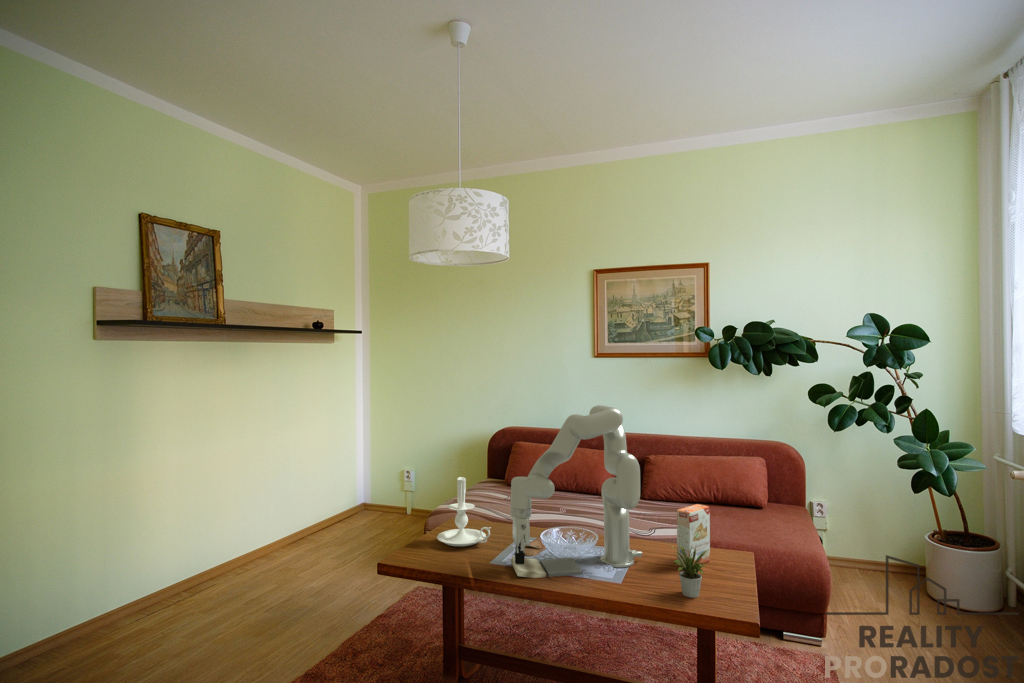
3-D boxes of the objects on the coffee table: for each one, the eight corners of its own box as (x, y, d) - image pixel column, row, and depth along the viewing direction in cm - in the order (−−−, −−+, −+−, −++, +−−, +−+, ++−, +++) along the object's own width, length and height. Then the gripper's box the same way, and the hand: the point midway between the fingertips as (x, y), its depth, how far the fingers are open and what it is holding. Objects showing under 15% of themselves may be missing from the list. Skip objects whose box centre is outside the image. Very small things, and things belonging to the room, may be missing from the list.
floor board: (571, 563, 211) (571, 557, 212) (582, 577, 198) (582, 571, 198) (540, 565, 209) (540, 559, 209) (548, 579, 196) (548, 573, 196)
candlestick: (477, 556, 220) (477, 485, 221) (427, 546, 231) (426, 479, 232) (503, 541, 238) (502, 475, 239) (455, 533, 250) (454, 470, 251)
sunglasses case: (533, 561, 214) (525, 544, 216) (520, 567, 217) (512, 551, 219) (554, 547, 229) (547, 532, 231) (541, 553, 232) (534, 538, 234)
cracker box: (690, 570, 204) (689, 512, 204) (676, 565, 208) (675, 509, 209) (711, 561, 212) (710, 506, 213) (697, 557, 217) (696, 503, 218)
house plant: (658, 596, 181) (657, 545, 182) (671, 582, 193) (670, 534, 193) (702, 607, 173) (701, 553, 174) (714, 591, 185) (713, 541, 185)
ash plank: (538, 565, 209) (539, 560, 209) (547, 579, 196) (548, 573, 196) (510, 561, 208) (511, 556, 208) (517, 575, 194) (518, 570, 194)
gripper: (535, 517, 195) (534, 570, 194) (527, 506, 210) (525, 556, 209) (514, 517, 194) (512, 571, 193) (507, 506, 209) (506, 556, 208)
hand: (519, 563), depth 201 cm, fingers closed
